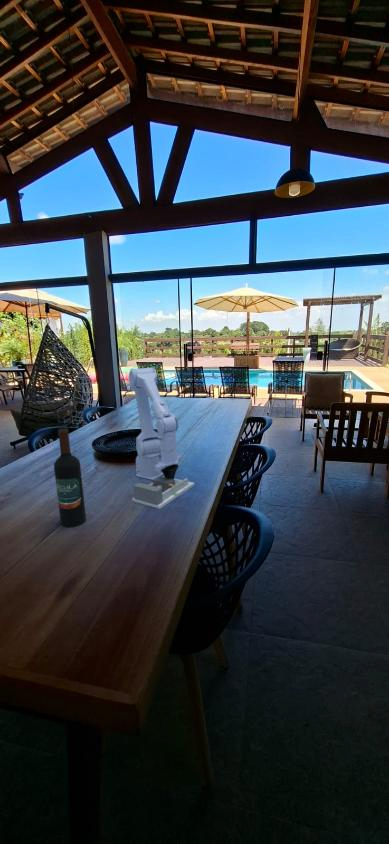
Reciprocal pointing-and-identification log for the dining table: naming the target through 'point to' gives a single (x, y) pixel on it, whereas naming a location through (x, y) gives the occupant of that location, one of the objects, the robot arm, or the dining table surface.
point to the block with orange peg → (163, 483)
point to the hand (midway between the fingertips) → (169, 483)
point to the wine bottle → (69, 484)
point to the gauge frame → (159, 493)
